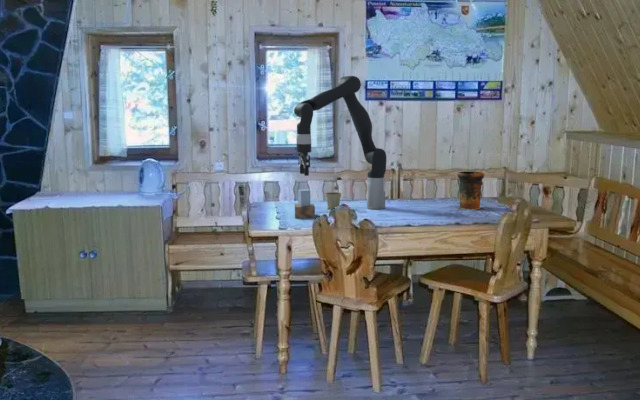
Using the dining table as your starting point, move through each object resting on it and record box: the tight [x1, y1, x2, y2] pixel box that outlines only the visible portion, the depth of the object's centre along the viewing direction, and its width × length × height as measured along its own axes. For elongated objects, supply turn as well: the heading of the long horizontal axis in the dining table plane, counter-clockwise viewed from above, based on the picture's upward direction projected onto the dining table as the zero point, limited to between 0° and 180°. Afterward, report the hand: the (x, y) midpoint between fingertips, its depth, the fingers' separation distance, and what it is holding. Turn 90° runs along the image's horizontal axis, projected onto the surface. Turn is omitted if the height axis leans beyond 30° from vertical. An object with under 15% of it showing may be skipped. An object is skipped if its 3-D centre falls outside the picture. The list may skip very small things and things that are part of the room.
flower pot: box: [324, 191, 343, 210], centre depth 352 cm, size 9×9×9 cm
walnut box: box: [294, 203, 316, 219], centre depth 330 cm, size 10×10×6 cm
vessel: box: [457, 170, 485, 211], centre depth 353 cm, size 14×14×20 cm
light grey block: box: [297, 188, 311, 206], centre depth 329 cm, size 5×5×8 cm
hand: (304, 174), depth 327 cm, fingers open, 8 cm apart
